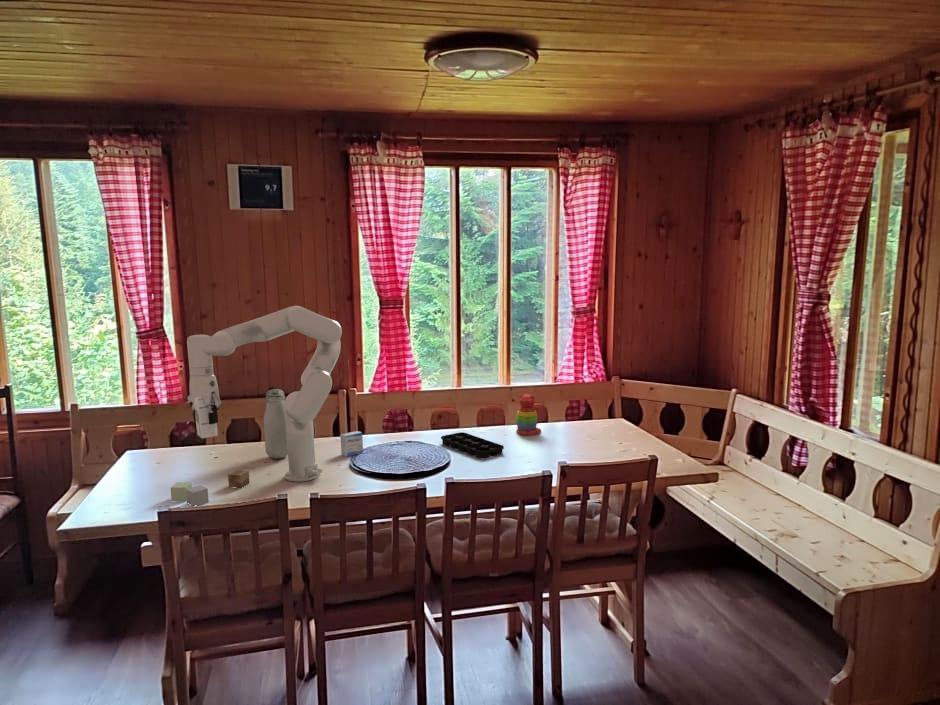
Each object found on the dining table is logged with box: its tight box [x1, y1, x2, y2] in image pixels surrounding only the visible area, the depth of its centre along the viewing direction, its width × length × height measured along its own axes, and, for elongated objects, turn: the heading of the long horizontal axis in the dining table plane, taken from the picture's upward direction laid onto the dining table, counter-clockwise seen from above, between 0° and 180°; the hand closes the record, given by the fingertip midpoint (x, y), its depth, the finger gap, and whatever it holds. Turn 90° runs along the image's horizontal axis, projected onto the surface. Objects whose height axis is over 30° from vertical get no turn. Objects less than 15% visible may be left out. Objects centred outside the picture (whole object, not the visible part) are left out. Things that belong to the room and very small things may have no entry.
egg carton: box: [440, 431, 505, 460], centre depth 276 cm, size 18×30×4 cm, turn 50°
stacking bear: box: [515, 393, 542, 437], centre depth 296 cm, size 11×10×18 cm
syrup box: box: [194, 396, 218, 439], centre depth 229 cm, size 6×6×14 cm
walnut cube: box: [227, 469, 251, 489], centre depth 237 cm, size 5×5×5 cm
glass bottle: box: [263, 388, 288, 460], centre depth 266 cm, size 10×10×28 cm
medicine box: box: [339, 430, 364, 458], centre depth 272 cm, size 8×4×9 cm, turn 131°
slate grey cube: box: [186, 484, 210, 507], centre depth 221 cm, size 5×5×5 cm
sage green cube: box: [170, 481, 193, 502], centre depth 225 cm, size 5×5×5 cm
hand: (206, 421), depth 229 cm, fingers closed on syrup box, 7 cm apart
